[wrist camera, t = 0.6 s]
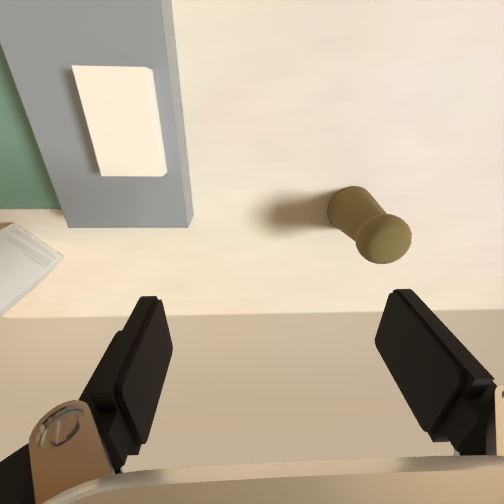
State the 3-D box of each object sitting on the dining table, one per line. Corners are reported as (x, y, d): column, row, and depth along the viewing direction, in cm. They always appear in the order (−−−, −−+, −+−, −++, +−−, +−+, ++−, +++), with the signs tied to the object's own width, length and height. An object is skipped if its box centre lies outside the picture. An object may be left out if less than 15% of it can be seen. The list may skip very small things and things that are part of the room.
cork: (333, 235, 36) (366, 281, 27) (322, 197, 34) (353, 233, 24) (376, 218, 35) (426, 260, 26) (367, 178, 33) (419, 208, 23)
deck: (11, -17, 23) (-30, -38, 19) (169, -12, 23) (157, -32, 20) (86, 215, 34) (68, 227, 30) (193, 215, 34) (187, 227, 31)
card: (84, 68, 23) (71, 65, 21) (152, 69, 23) (145, 67, 21) (110, 171, 27) (101, 176, 26) (167, 172, 28) (162, 176, 26)
